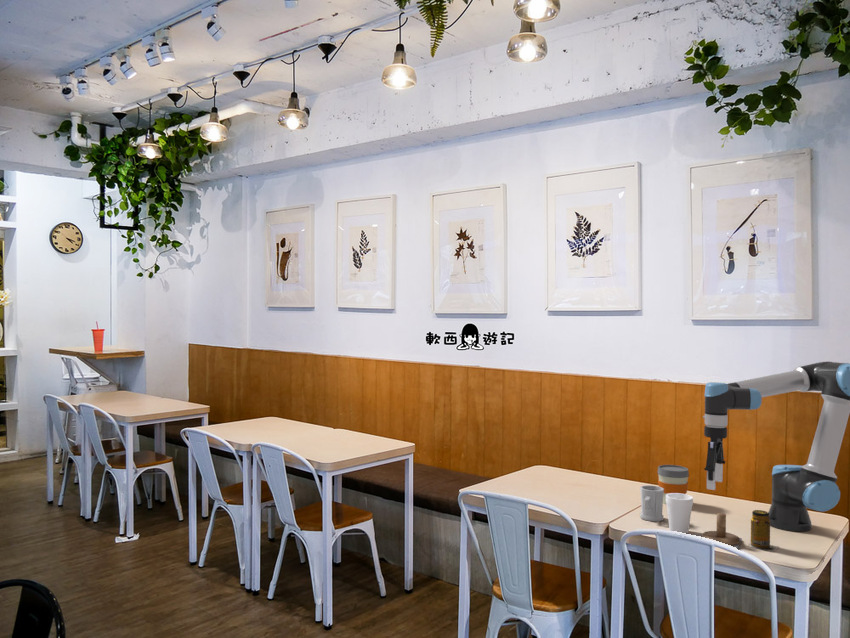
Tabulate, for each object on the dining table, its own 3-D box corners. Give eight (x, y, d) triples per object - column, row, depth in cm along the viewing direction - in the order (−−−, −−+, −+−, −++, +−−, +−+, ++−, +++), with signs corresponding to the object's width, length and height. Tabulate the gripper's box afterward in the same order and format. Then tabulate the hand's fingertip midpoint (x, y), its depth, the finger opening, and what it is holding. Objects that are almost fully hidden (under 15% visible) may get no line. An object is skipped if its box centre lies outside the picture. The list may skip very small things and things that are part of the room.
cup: (668, 523, 259) (668, 492, 259) (644, 523, 259) (645, 492, 259) (658, 515, 269) (659, 485, 269) (636, 514, 269) (636, 485, 269)
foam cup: (694, 536, 244) (695, 500, 244) (667, 534, 246) (668, 499, 245) (689, 528, 253) (690, 493, 253) (663, 526, 255) (664, 492, 255)
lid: (741, 538, 240) (742, 513, 240) (737, 548, 230) (737, 521, 230) (705, 532, 246) (706, 507, 246) (699, 541, 236) (700, 515, 236)
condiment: (753, 541, 239) (753, 507, 239) (779, 547, 233) (779, 512, 233) (746, 546, 234) (746, 512, 234) (772, 552, 228) (773, 517, 228)
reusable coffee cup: (682, 499, 293) (683, 464, 293) (692, 507, 280) (693, 471, 280) (653, 498, 293) (653, 464, 293) (662, 507, 281) (662, 471, 281)
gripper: (711, 420, 253) (710, 477, 253) (697, 429, 232) (696, 491, 232) (733, 422, 249) (732, 479, 249) (720, 432, 228) (719, 494, 228)
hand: (714, 485), depth 241 cm, fingers open, 13 cm apart
